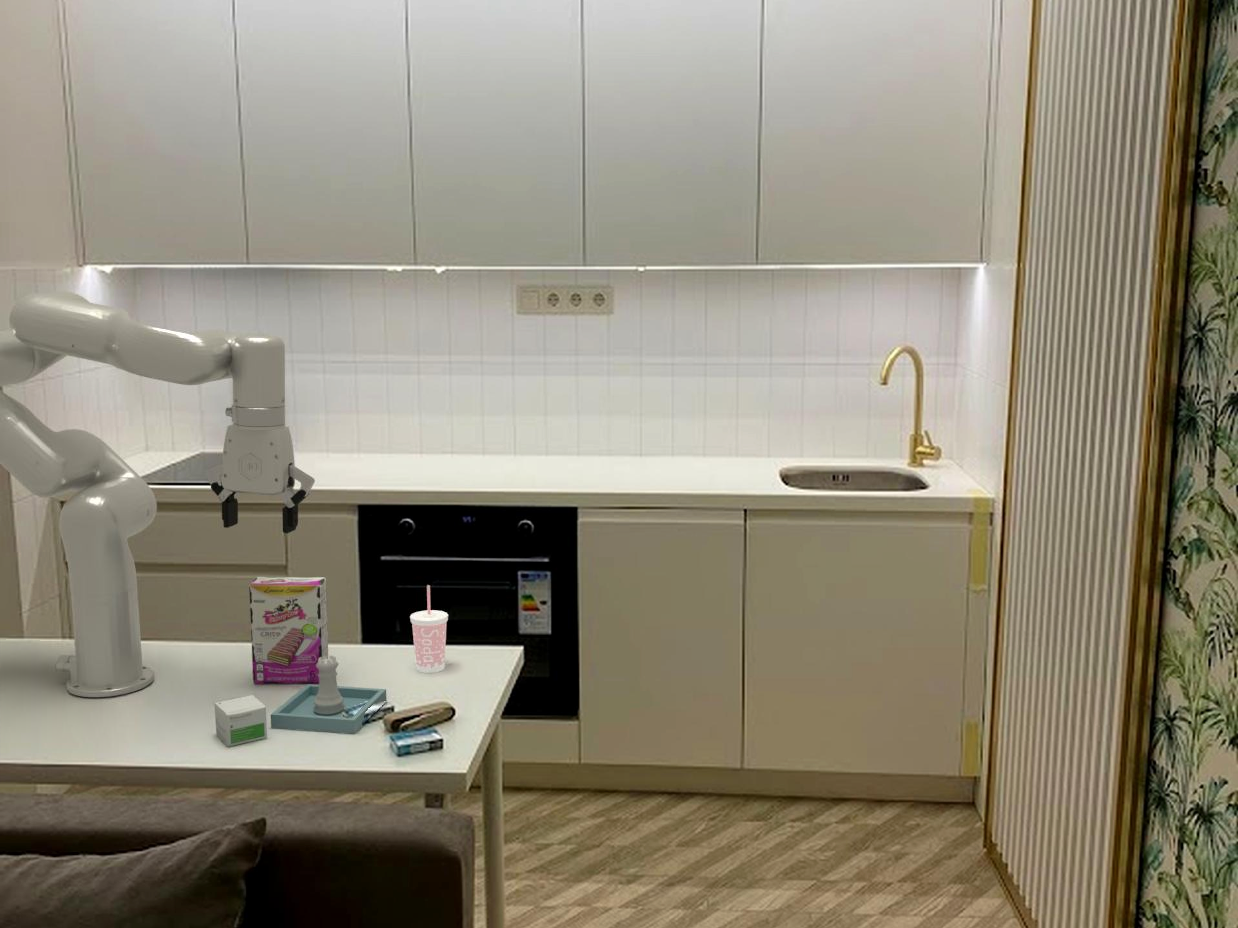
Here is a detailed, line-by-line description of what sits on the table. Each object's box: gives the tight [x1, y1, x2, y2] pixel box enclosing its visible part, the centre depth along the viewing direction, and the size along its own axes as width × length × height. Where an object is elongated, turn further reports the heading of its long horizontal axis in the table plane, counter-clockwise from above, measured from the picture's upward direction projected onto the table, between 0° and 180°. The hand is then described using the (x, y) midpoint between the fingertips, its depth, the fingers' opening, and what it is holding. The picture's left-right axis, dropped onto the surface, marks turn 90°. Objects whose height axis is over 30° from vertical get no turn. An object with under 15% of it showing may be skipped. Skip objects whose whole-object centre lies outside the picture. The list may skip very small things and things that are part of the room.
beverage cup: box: [409, 584, 449, 674], centre depth 195 cm, size 6×6×14 cm
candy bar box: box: [248, 576, 329, 685], centre depth 189 cm, size 11×5×16 cm, turn 92°
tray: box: [270, 683, 387, 735], centre depth 176 cm, size 13×13×2 cm
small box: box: [213, 694, 268, 748], centre depth 167 cm, size 6×6×5 cm
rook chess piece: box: [313, 655, 344, 715], centre depth 175 cm, size 4×4×8 cm
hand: (259, 528), depth 182 cm, fingers open, 9 cm apart
